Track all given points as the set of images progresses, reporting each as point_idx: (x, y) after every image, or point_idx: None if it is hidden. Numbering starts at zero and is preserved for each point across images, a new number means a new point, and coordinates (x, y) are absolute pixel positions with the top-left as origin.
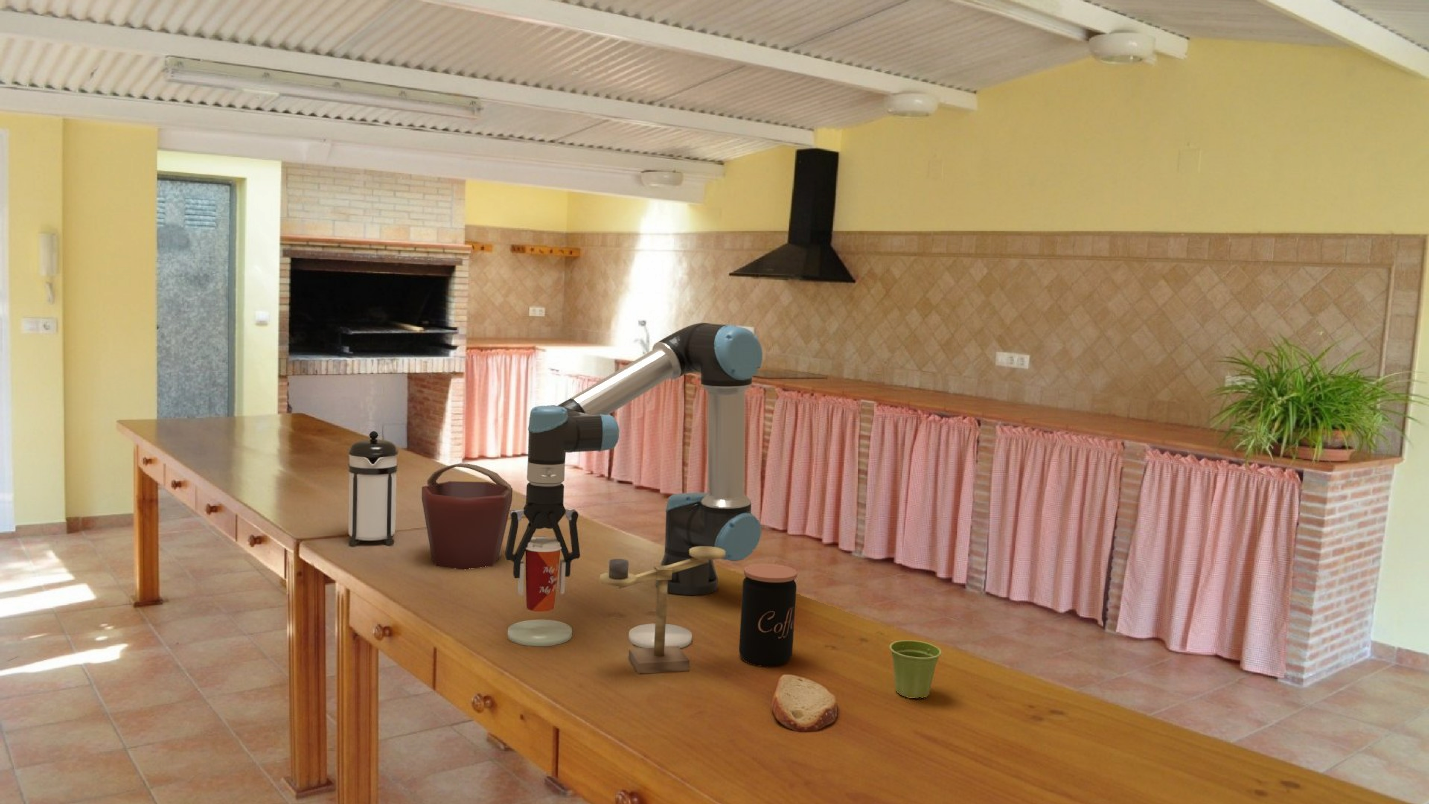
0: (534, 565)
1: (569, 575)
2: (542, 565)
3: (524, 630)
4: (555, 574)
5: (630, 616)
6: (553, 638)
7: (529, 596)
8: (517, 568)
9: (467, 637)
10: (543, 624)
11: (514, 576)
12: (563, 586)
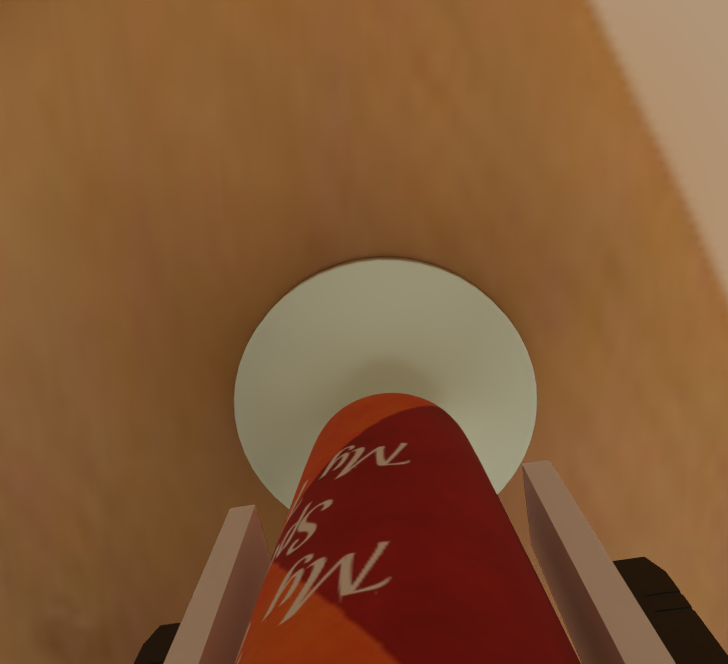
0: (505, 614)
1: (153, 634)
2: (404, 603)
3: (458, 400)
4: (266, 583)
5: (15, 631)
6: (315, 293)
7: (474, 456)
8: (673, 634)
9: (710, 369)
10: None
11: (656, 569)
12: (223, 541)
